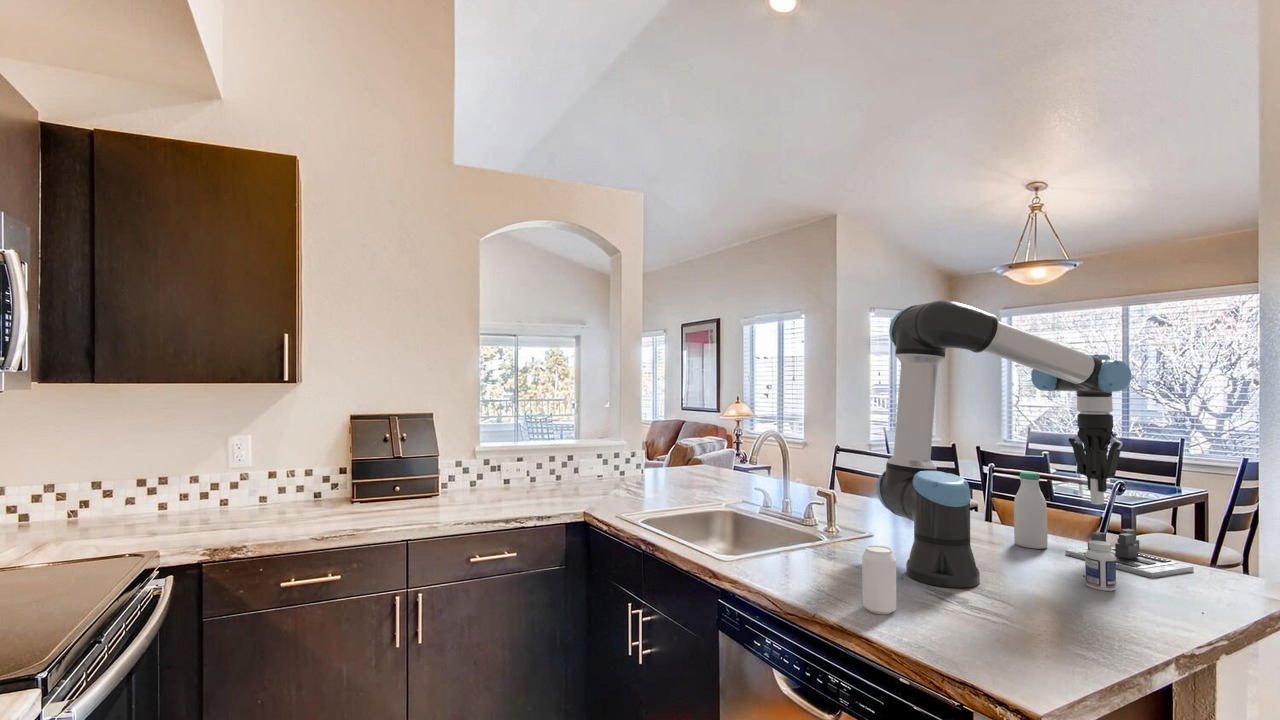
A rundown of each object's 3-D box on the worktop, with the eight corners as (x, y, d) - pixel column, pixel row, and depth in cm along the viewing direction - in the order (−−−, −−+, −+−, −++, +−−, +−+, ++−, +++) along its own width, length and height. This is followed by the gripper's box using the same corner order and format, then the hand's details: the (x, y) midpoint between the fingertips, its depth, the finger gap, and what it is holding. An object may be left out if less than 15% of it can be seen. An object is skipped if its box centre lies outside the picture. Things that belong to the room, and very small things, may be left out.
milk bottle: (1052, 550, 163) (1051, 475, 164) (1021, 548, 165) (1019, 474, 166) (1040, 542, 171) (1039, 471, 172) (1009, 541, 173) (1008, 470, 173)
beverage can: (894, 618, 116) (893, 554, 116) (860, 612, 119) (859, 550, 119) (898, 608, 121) (897, 547, 122) (865, 602, 124) (864, 542, 125)
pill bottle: (1112, 585, 135) (1111, 541, 136) (1119, 593, 131) (1118, 547, 131) (1083, 582, 138) (1082, 538, 138) (1088, 589, 133) (1087, 544, 133)
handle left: (1100, 557, 152) (1099, 535, 152) (1087, 554, 154) (1087, 532, 155) (1109, 556, 153) (1109, 534, 153) (1097, 552, 156) (1097, 531, 156)
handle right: (1130, 553, 155) (1129, 531, 155) (1117, 550, 158) (1117, 529, 158) (1139, 552, 156) (1139, 530, 157) (1126, 549, 159) (1126, 528, 159)
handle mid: (1128, 558, 151) (1127, 536, 151) (1115, 555, 153) (1115, 533, 154) (1138, 557, 152) (1137, 535, 152) (1124, 554, 155) (1124, 532, 155)
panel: (1151, 578, 141) (1151, 571, 141) (1065, 554, 159) (1065, 548, 159) (1193, 571, 146) (1193, 565, 146) (1105, 549, 164) (1105, 543, 164)
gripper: (1131, 413, 155) (1134, 507, 155) (1079, 411, 168) (1082, 498, 167) (1111, 414, 153) (1114, 509, 152) (1060, 412, 165) (1062, 500, 164)
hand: (1097, 503), depth 160 cm, fingers closed
